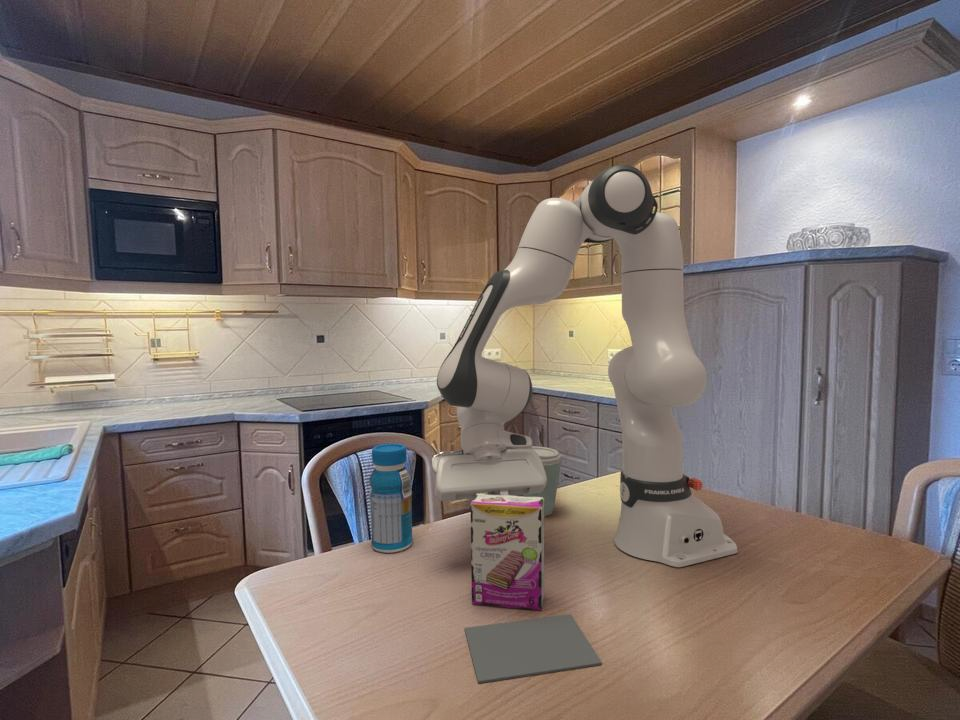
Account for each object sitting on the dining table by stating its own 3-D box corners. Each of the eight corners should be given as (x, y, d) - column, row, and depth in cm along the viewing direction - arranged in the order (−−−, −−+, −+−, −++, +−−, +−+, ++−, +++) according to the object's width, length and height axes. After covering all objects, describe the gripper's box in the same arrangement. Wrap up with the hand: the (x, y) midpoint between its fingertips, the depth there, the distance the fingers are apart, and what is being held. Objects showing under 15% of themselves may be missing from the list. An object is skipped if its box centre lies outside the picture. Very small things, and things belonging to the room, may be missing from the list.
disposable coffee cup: (550, 501, 122) (549, 442, 121) (571, 517, 112) (570, 452, 111) (510, 507, 119) (509, 446, 118) (528, 524, 108) (527, 456, 107)
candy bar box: (470, 606, 77) (468, 502, 76) (477, 589, 81) (475, 492, 80) (543, 613, 74) (541, 506, 73) (545, 595, 79) (544, 495, 78)
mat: (570, 615, 73) (570, 613, 73) (602, 664, 63) (602, 662, 63) (464, 629, 71) (464, 627, 70) (478, 683, 60) (478, 681, 60)
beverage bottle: (377, 558, 93) (373, 454, 92) (366, 541, 101) (362, 445, 100) (419, 548, 97) (416, 448, 96) (405, 533, 105) (402, 440, 104)
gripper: (431, 443, 90) (437, 515, 81) (539, 436, 93) (557, 505, 84) (429, 461, 94) (435, 531, 85) (532, 454, 98) (549, 520, 89)
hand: (497, 518), depth 85 cm, fingers closed
